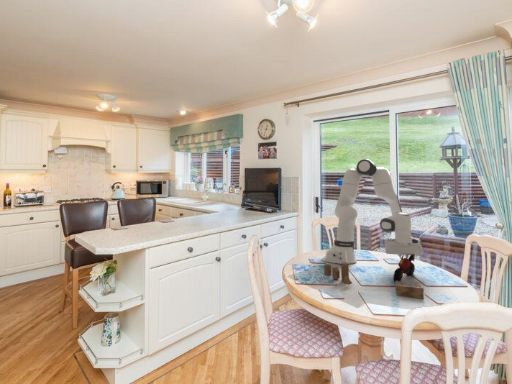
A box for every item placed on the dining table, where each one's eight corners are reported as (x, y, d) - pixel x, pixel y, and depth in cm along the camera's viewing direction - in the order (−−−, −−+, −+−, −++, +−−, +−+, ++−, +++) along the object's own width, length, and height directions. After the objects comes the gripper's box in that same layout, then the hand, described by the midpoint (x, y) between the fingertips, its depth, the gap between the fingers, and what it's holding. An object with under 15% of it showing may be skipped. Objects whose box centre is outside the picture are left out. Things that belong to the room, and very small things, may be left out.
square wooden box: (397, 295, 132) (397, 285, 132) (395, 288, 142) (395, 278, 142) (423, 299, 128) (423, 288, 128) (419, 291, 138) (419, 281, 138)
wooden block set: (322, 278, 158) (321, 261, 158) (331, 274, 164) (331, 258, 163) (349, 288, 144) (348, 269, 143) (358, 283, 149) (357, 265, 148)
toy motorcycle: (400, 285, 146) (399, 256, 146) (390, 283, 150) (390, 254, 150) (418, 276, 162) (418, 249, 162) (409, 274, 166) (409, 248, 166)
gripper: (384, 239, 167) (385, 261, 167) (423, 240, 159) (423, 264, 159) (384, 237, 173) (384, 259, 173) (421, 239, 165) (421, 261, 165)
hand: (403, 261), depth 166 cm, fingers closed
